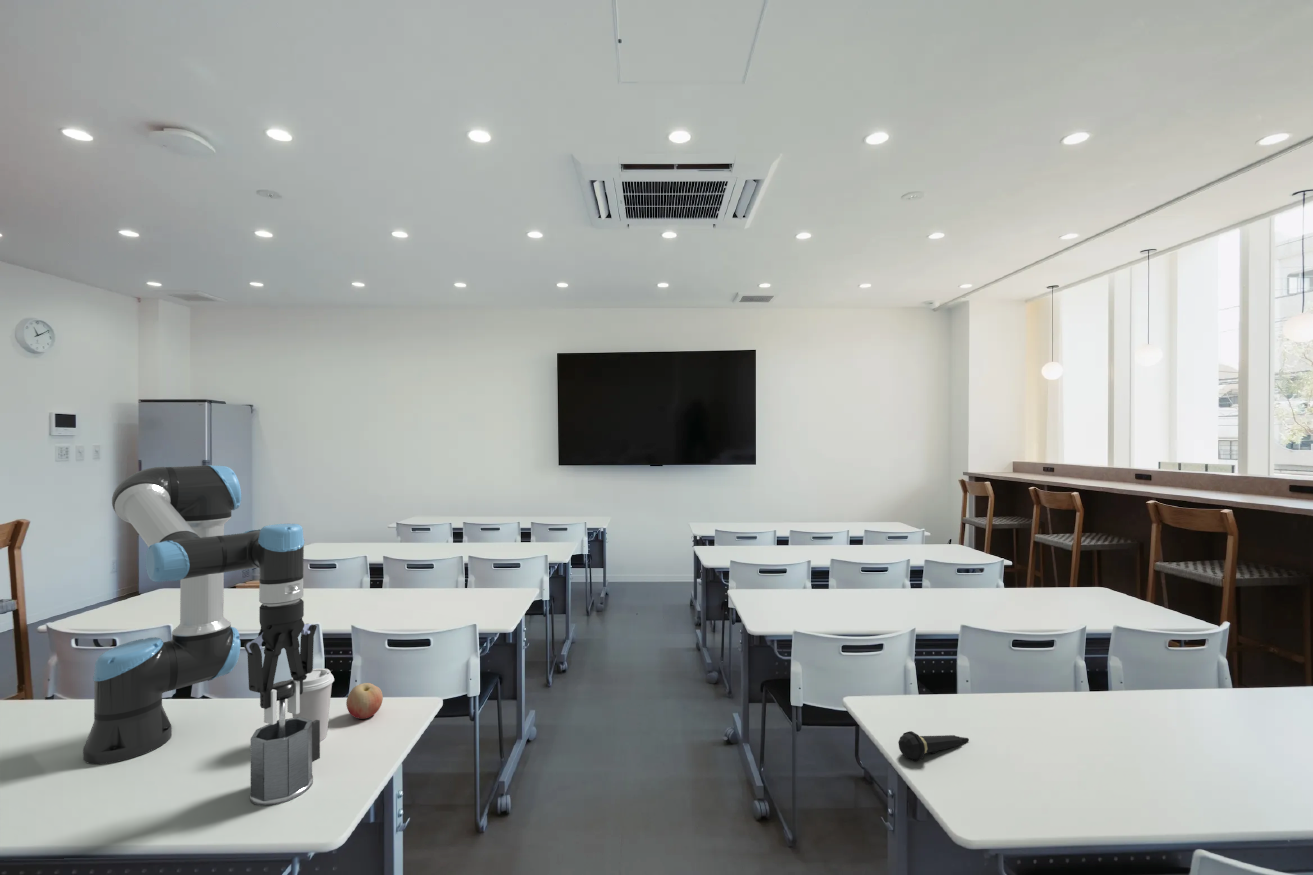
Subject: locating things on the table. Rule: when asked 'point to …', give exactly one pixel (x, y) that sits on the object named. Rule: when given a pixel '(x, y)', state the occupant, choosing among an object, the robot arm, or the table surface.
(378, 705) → the fruit
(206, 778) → the table surface
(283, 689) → the plunger
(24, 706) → the table surface
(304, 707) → the coffee cup
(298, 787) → the press carafe
